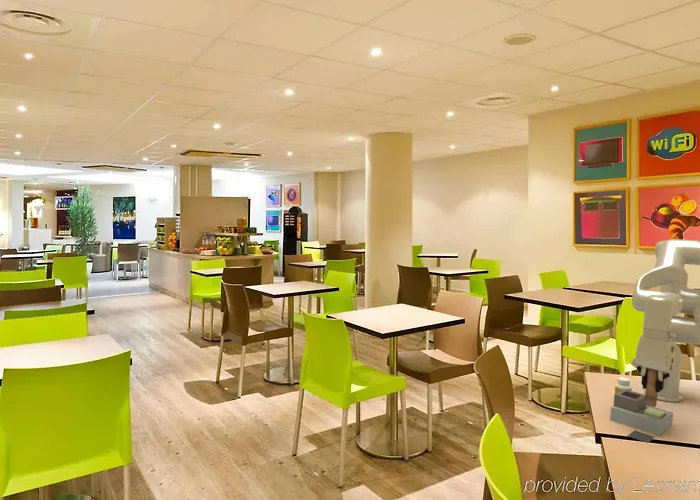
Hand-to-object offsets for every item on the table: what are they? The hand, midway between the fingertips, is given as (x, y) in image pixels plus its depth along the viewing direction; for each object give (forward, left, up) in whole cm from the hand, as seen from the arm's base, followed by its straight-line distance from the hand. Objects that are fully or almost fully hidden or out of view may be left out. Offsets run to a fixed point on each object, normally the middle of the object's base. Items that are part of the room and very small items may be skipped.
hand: (651, 389), depth 164 cm
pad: (+7, 0, -14) cm, 16 cm away
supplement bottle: (-17, -15, -15) cm, 27 cm away
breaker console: (-4, -4, -14) cm, 16 cm away
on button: (-4, 0, -14) cm, 14 cm away
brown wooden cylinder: (0, 0, -5) cm, 5 cm away
